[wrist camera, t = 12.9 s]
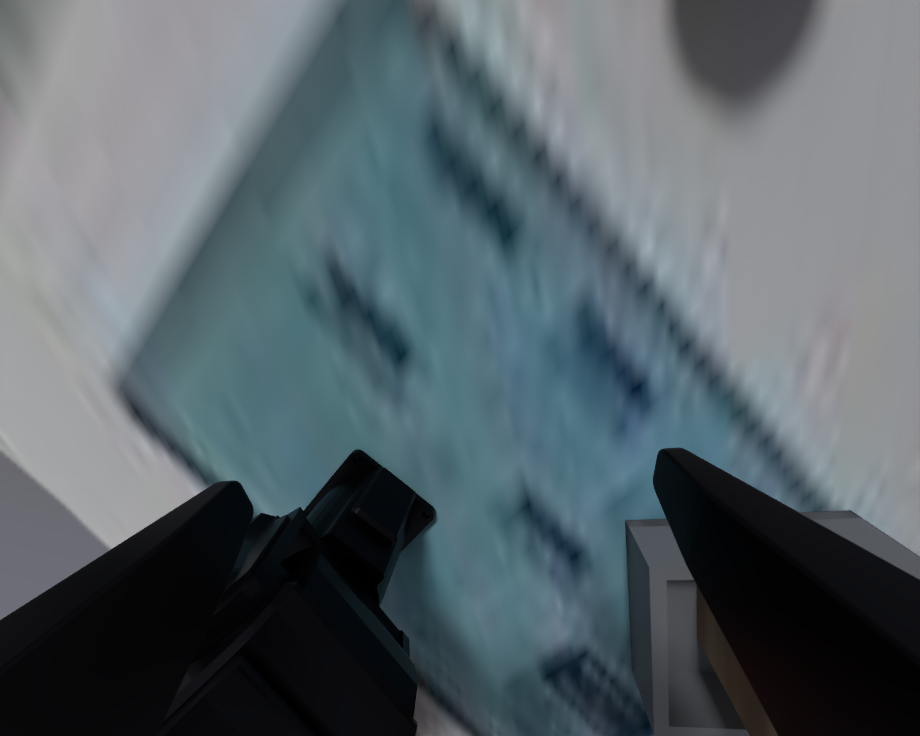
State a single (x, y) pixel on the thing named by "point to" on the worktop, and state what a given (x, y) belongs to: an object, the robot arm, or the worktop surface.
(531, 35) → the worktop surface
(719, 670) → the handle block
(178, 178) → the worktop surface
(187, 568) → the robot arm
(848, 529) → the box
